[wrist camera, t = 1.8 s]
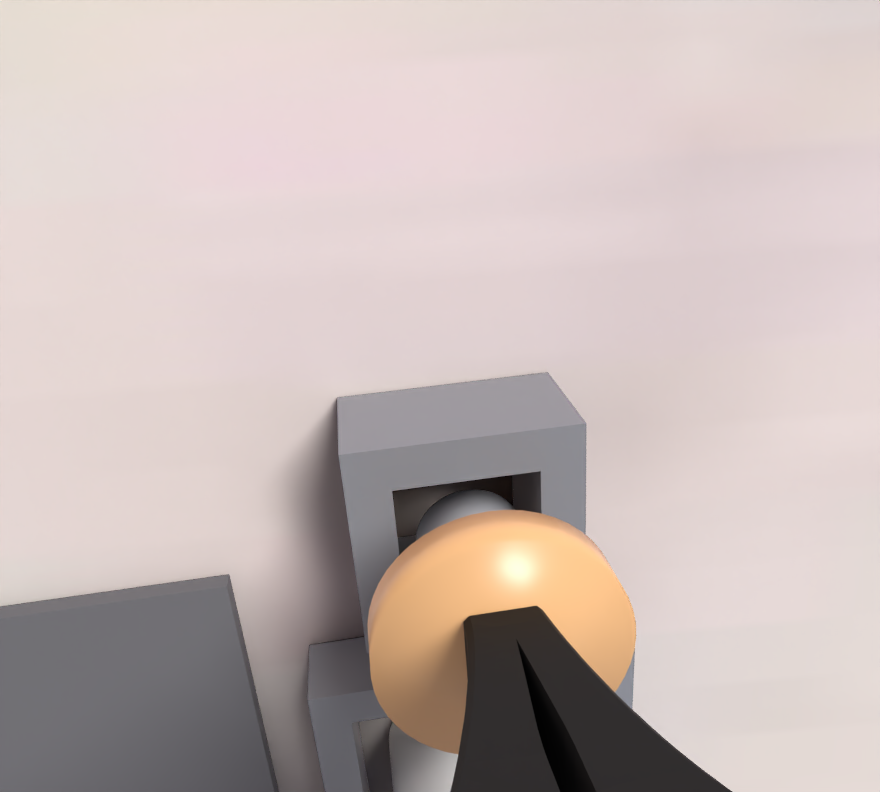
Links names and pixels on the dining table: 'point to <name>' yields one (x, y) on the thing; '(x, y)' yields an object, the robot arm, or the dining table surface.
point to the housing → (426, 464)
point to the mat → (131, 694)
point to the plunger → (485, 605)
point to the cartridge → (419, 765)
